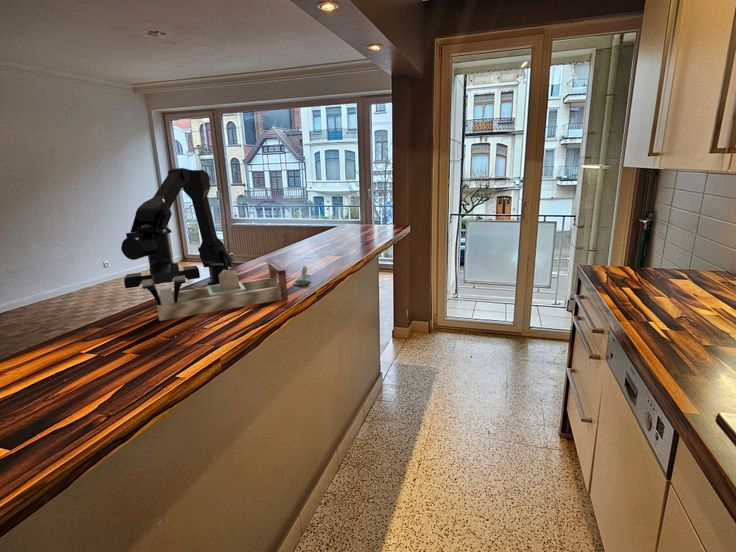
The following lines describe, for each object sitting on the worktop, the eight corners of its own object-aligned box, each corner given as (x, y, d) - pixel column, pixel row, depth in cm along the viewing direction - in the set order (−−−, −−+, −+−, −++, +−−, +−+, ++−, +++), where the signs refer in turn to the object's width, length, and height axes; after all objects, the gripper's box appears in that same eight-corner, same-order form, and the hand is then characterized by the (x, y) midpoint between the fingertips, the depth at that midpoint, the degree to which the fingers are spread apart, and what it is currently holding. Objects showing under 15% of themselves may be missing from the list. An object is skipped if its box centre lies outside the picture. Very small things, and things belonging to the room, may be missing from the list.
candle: (244, 298, 126) (240, 267, 124) (236, 304, 121) (232, 272, 119) (227, 298, 127) (223, 267, 125) (219, 304, 122) (214, 272, 119)
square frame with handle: (163, 317, 112) (159, 293, 110) (163, 307, 121) (159, 284, 119) (247, 303, 121) (244, 280, 120) (241, 294, 130) (238, 273, 128)
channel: (159, 321, 110) (153, 289, 108) (159, 307, 122) (154, 278, 119) (287, 298, 125) (285, 270, 123) (277, 288, 137) (274, 262, 134)
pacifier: (290, 286, 139) (307, 286, 138) (288, 269, 137) (305, 268, 136) (296, 281, 146) (312, 280, 145) (294, 264, 144) (310, 263, 143)
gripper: (117, 261, 101) (129, 320, 105) (197, 252, 109) (205, 307, 113) (121, 254, 111) (131, 308, 115) (194, 246, 119) (202, 297, 123)
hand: (168, 305), depth 116 cm, fingers open, 4 cm apart
